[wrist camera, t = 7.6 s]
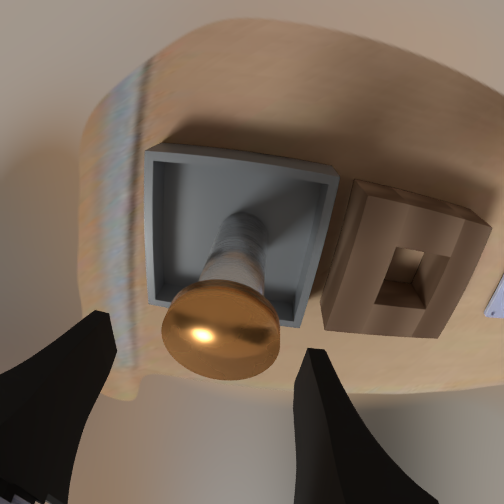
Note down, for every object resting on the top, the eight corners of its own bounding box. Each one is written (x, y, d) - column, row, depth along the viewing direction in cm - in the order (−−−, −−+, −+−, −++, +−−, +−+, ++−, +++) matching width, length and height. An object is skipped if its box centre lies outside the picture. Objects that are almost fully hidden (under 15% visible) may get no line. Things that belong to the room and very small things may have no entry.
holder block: (469, 209, 17) (492, 227, 15) (424, 313, 22) (437, 338, 19) (354, 178, 17) (367, 195, 15) (320, 301, 22) (324, 330, 19)
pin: (285, 207, 18) (291, 307, 10) (272, 271, 20) (268, 386, 12) (209, 196, 18) (158, 286, 10) (204, 261, 20) (165, 369, 12)
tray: (331, 165, 17) (340, 177, 15) (297, 304, 22) (299, 327, 20) (161, 142, 17) (144, 150, 15) (159, 282, 22) (148, 304, 20)
